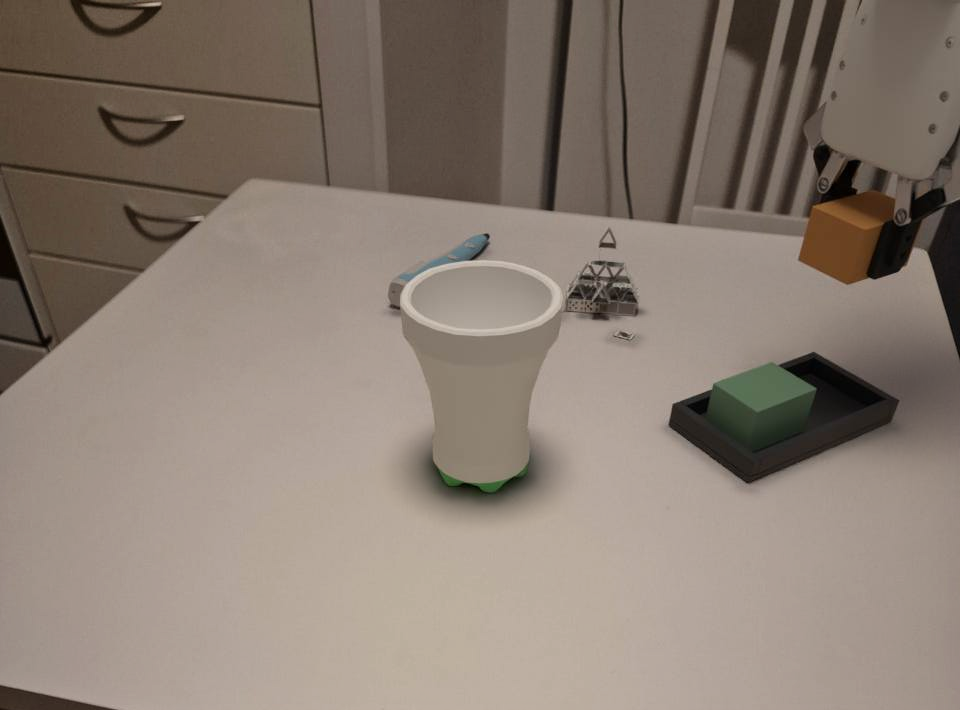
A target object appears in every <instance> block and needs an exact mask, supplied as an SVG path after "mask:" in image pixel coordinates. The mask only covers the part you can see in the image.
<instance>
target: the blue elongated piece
mask: <svg viewBox="0 0 960 710" xmlns="http://www.w3.org/2000/svg"><path fill="white" fill-rule="evenodd" d="M490 238H491V236H490V234H489V233H487V232H486V233H480V234H475V235H473V236H472V237H471V236H470V237H469V238H468V239H466V240H464V241H463V242H461V243H459V244H457V245H456V246H454V247H452V248H451V249H449V250H447V251H446V252H444V253H442V254H440V255H439V256H436V257H434V258H431V259H428V260H425V261H423V260H420V261H418V262H417V263H415V264H413V265H412V266H410V267H409V268H407V269H406V270H405V271H403V272H402V273H400V274H398V275H397V276H396V277H394V278H393V279H392V281H391V282H390V284H389V287H388V292H387V297H388V300H389V302H390V303H391V304H392V306H393V305H394V307H395V306H396V307H397V308H398V307H399V308H400V295H401V293H402V291H403V289H404V287H405V285H406V284H407V283H409V282H410V281H411V280H412V279H413V278H414V277H416V276H417V275H419V274H420V273H422V272H424V271H426V270H428V269H430V268H433V267H437V266H441V265H444V264H449V263H455V262H462V261H471V259H473V257H475V256H476V255H477V254H478V253H479V252H480V251H482V249H483V248H484V247H485V246H486V245H487V244H488V242H489V239H490Z"/></svg>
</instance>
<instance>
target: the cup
mask: <svg viewBox="0 0 960 710" xmlns="http://www.w3.org/2000/svg"><path fill="white" fill-rule="evenodd" d="M563 304H564V295H563V292H562V288H561V287H560V286H559V285H558V284H557V283H556V282H555V281H554V280H553V279H551V278H550V277H549V276H547V275H545V274H543V273H542V272H540V271H538V270H537V269H534V268H531V267H528V266H525V265H522V264H519V263H514V262H508V261H504V260H490V259H489V260H486V259H483V260H482V259H481V260H480V259H479V260H468V261H462V262H455V263H449V264H444V265H441V266H437V267H433V268H430V269H428V270H426V271H424V272H422V273H420V274H419V275H417V276H416V277H414V278H413V279H412V280H411V281H410V282H409V283H407V284H406V285H405V287H404V289H403V291H402V293H401V295H400V307H399V309H400V319H401V329H402V335H403V338H404V339H405V340H406V342H407V343H408V344H409V346H410V347H411V349H412V350H413V352H414V354H415V356H416V359H417V361H418V363H419V366H420V368H421V371H422V374H423V377H424V380H425V383H426V386H427V388H428V391H429V395H430V396H429V397H430V401H431V407H432V412H433V422H434V431H433V433H432V437H431V438H432V439H431V440H432V461H433V462H434V464H435V466H436V468H437V470H438V472H439V473H440V476H441V477H442V479H443V480H444V483H445V484H447V485H448V486H449V487H451V486H453V487H457V486H460V485H462V484H464V483H465V484H469V485H473V486H477V487H478V488H479V489H480V490H481V491H482V492H485V493H487V494H491V493H496V492H497V491H498V490H499V489H501V488H502V486H503V485H504V484H505V483H507V482H508V481H509V480H511V479H512V478H520V477H523V476H525V474H526V473H527V470H528V467H529V462H530V455H531V454H530V453H531V436H530V430H529V427H528V425H529V416H530V406H531V401H532V396H533V391H534V389H535V386H536V383H537V380H538V377H539V374H540V371H541V369H542V366H543V364H544V361H545V360H546V357H547V355H548V353H549V350H550V349H551V348H552V347H553V345H554V344H555V343H556V341H558V339H559V335H560V330H561V326H562V316H563V315H562V313H563V312H562V309H563Z"/></svg>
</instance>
